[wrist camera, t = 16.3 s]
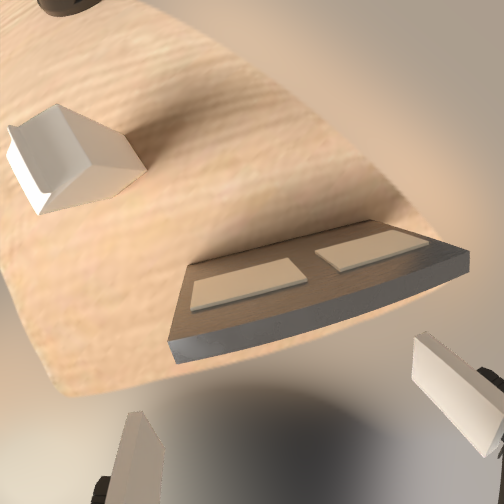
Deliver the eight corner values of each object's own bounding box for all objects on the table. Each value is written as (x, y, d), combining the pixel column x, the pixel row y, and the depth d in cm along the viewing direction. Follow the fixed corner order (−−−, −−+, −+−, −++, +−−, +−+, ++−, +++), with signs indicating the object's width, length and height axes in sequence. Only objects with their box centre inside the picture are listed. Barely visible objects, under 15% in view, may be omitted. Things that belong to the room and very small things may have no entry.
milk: (112, 198, 37) (14, 225, 15) (89, 162, 35) (-20, 156, 14) (148, 170, 37) (74, 164, 15) (124, 133, 35) (35, 93, 14)
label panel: (186, 263, 40) (166, 337, 20) (370, 217, 41) (469, 247, 22) (204, 319, 42) (201, 419, 23) (376, 271, 44) (465, 327, 24)
